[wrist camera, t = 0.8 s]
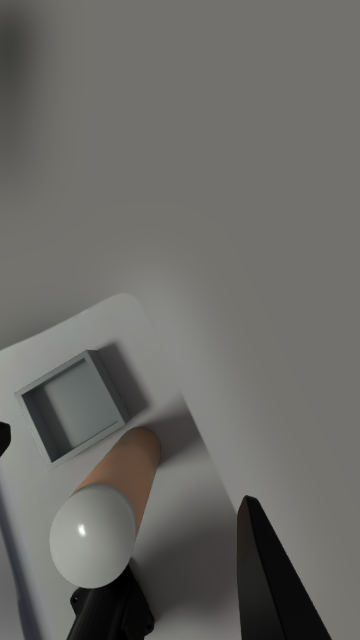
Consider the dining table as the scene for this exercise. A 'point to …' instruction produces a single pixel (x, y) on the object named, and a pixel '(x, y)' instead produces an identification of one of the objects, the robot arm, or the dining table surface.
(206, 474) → the dining table surface
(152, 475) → the brown cylinder grey top
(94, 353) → the tray
